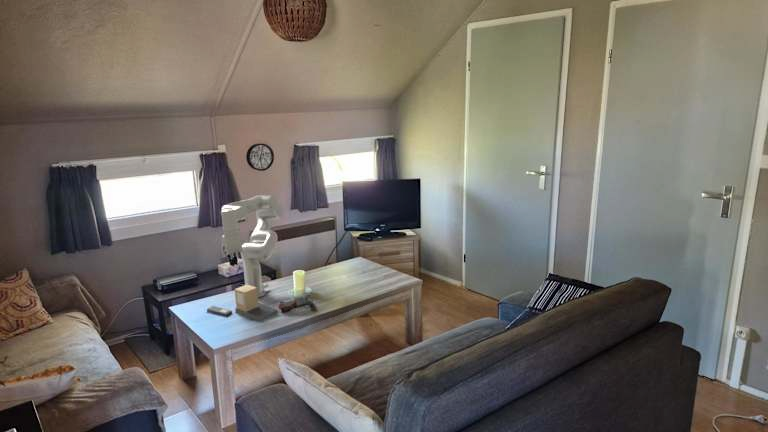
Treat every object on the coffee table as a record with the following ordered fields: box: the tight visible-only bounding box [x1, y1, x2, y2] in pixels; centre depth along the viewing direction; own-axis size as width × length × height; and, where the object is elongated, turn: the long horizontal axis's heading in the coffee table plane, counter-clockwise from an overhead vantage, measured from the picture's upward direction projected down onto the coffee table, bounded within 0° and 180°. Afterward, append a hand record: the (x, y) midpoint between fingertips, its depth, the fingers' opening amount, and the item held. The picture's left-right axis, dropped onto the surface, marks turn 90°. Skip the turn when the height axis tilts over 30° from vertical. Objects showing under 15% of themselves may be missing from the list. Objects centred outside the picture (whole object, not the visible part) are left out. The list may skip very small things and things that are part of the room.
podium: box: [235, 302, 279, 323], centre depth 261 cm, size 12×20×2 cm, turn 53°
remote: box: [206, 305, 233, 317], centre depth 263 cm, size 14×4×2 cm, turn 62°
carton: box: [234, 284, 259, 312], centre depth 261 cm, size 8×8×11 cm
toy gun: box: [278, 296, 319, 314], centre depth 262 cm, size 4×20×10 cm, turn 95°
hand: (233, 264), depth 262 cm, fingers closed
